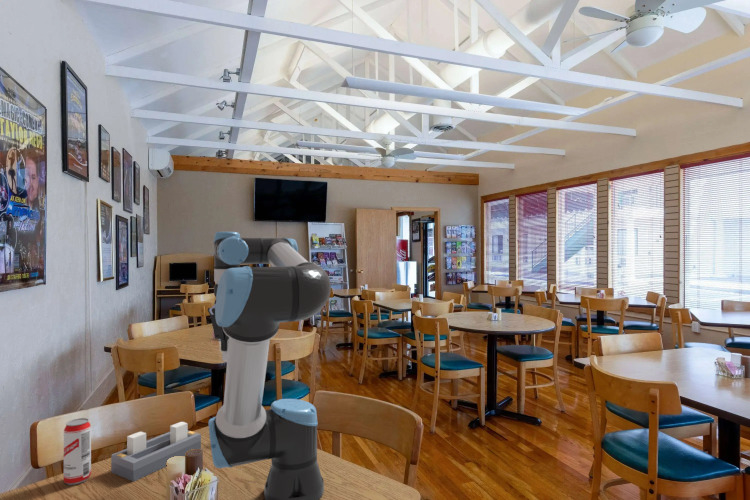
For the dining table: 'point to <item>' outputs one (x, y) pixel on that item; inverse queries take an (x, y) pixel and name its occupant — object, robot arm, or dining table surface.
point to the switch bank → (152, 456)
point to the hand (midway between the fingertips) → (227, 361)
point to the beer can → (77, 451)
